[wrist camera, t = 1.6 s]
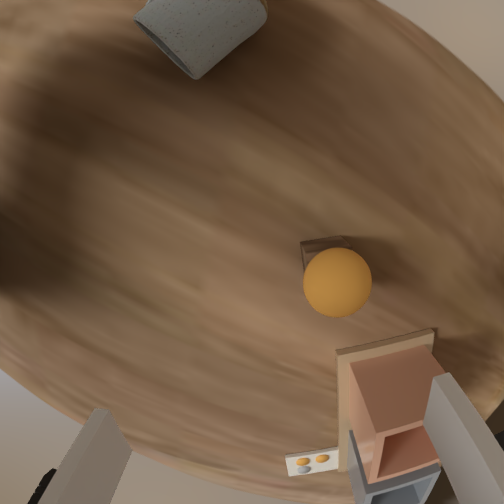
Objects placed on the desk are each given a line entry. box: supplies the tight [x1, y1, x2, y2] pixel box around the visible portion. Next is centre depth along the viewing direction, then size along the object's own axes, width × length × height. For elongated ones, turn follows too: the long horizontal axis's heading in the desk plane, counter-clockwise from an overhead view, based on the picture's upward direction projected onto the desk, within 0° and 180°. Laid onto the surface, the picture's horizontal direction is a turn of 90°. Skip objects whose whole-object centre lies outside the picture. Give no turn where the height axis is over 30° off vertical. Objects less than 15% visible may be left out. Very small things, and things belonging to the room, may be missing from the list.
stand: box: [300, 236, 352, 273], centre depth 26 cm, size 4×4×4 cm
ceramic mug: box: [133, 0, 268, 80], centre depth 18 cm, size 11×8×8 cm
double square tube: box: [335, 328, 446, 504], centre depth 28 cm, size 11×22×11 cm, turn 10°
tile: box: [285, 446, 338, 476], centre depth 35 cm, size 7×5×1 cm
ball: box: [303, 248, 372, 317], centre depth 22 cm, size 5×5×5 cm
